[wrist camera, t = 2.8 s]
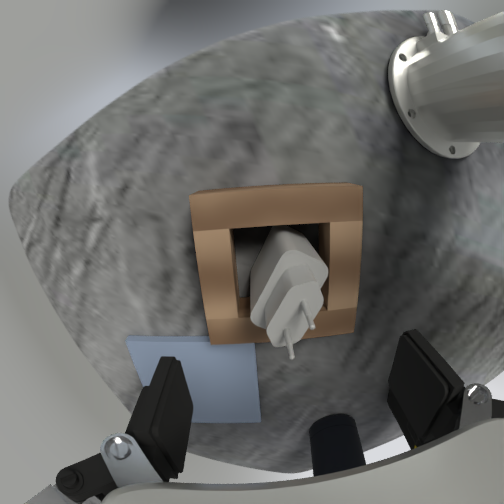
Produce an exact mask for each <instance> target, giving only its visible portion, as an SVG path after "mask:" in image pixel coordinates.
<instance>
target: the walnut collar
mask: <svg viewBox="0 0 504 504" xmlns="http://www.w3.org/2000/svg"><path fill="white" fill-rule="evenodd" d="M189 200H190V209H191V218H192V226H193V234H194V242H195V250H196V257H197V264H198V271H199V278H200V284H201V291H202V297H203V303H204V309H205V315H206V321H207V327H208V332H209V338H210V343H211V345H221V344H245V343H261V342H271V341H270V339H269V337H268V335H267V331H266V329H264V328H261V327H259V326H256V325H255V324H254V323H253V322H252V321H251V318H250V297H240V296H239V286H238V276H237V266H236V255H235V244H234V233H233V228H245V227H260V226H275V225H291V224H308V223H319V256H320V258H321V259H322V260H323V262H324V263H325V264H326V266H327V268H328V276H327V278H326V280H325V282H324V284H323V285H322V287H321V289H320V290H321V293H322V295H323V299H324V301H323V305H322V307H321V309H320V310H319V312H318V314H317V315H316V317H315V318H314V320H313V322H314V324H315V329H314V330H311V329H310V328H308V329H307V331H306V332H305V334H304V335H303V337H302V338H301V339H307V338H316V337H325V336H332V335H340V334H347V333H354V327H355V319H356V311H357V302H358V292H359V281H360V267H361V251H362V225H363V186H360V185H355V184H351V183H305V184H282V185H264V186H249V187H236V188H224V189H213V190H203V191H197V192H195V193H193V194H191V195H189Z"/></svg>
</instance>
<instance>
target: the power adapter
mask: <svg viewBox="0 0 504 504" xmlns="http://www.w3.org/2000/svg"><path fill="white" fill-rule="evenodd" d="M327 276H328V268H327V266H326V264H325V263H324V262H323V260H322V259H321V258H320V256H319V255H318V253H317V252H316V251H315V249H314V248H313V247H312V245H311V244H310V243H309V241H308V240H307V239H306V237H305V236H304V235H303V234H302V233H301V232H299V231H297V230H295V229H293V228H290V227H288V226H286V225H275V226H273V227H272V229H271V231H270V233H269V235H268V237H267V239H266V241H265V243H264V245H263V247H262V249H261V251H260V253H259V255H258V257H257V259H256V261H255V263H254V265H253V267H252V269H251V272H250V318H251V321H252V322H253V323H254V324H255V325H256V326H259V327H261V328H264V329H266V331H267V335H268V337H269V339H270V341H271V343H272V344H273V346H274V347H283V346H287V348H288V354H289V358H290V359H291V360H293V359H294V358H295V355H294V351H293V344H294V343H296V342H298V341H299V340H300V339H301V338H302V337H303V335H304V334H305V332H306V331H307V329H308V328H310V329H311V330H314V329H315V324H314V322H313V320H314V318H315V317H316V315H317V314H318V312H319V310H320V309H321V307H322V305H323V301H324V299H323V295H322V293H321V290H320V289H321V287H322V285H323V284H324V282H325V280H326V278H327Z"/></svg>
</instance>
